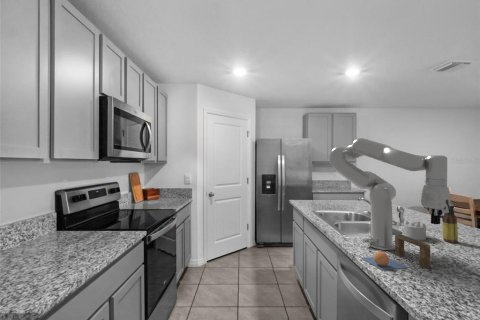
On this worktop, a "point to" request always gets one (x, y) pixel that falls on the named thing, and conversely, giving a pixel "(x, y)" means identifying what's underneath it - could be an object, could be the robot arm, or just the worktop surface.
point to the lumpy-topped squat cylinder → (415, 230)
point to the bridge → (423, 246)
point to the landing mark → (389, 266)
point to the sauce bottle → (450, 226)
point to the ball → (381, 258)
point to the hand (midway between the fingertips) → (435, 223)
